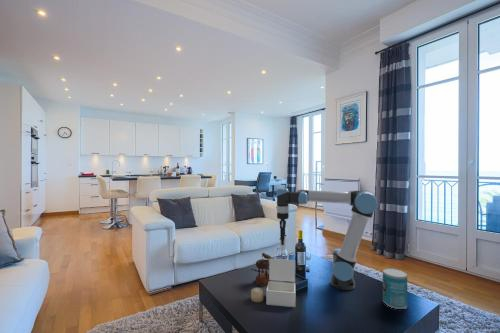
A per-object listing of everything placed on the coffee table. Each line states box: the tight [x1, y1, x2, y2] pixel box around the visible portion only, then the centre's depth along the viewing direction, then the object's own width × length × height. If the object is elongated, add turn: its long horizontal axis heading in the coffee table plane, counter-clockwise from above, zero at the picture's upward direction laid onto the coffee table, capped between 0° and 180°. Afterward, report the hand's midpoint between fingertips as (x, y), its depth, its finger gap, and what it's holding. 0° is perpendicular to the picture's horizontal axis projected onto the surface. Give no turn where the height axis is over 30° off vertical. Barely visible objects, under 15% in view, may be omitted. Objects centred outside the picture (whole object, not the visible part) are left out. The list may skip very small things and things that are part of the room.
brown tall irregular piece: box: [250, 252, 274, 287], centre depth 171 cm, size 15×11×20 cm
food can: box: [382, 267, 408, 310], centre depth 143 cm, size 12×12×18 cm
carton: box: [265, 280, 296, 308], centre depth 148 cm, size 16×12×8 cm
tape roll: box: [250, 287, 264, 303], centre depth 150 cm, size 7×7×5 cm
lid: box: [268, 258, 296, 283], centre depth 156 cm, size 16×12×1 cm
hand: (282, 247), depth 166 cm, fingers open, 5 cm apart
